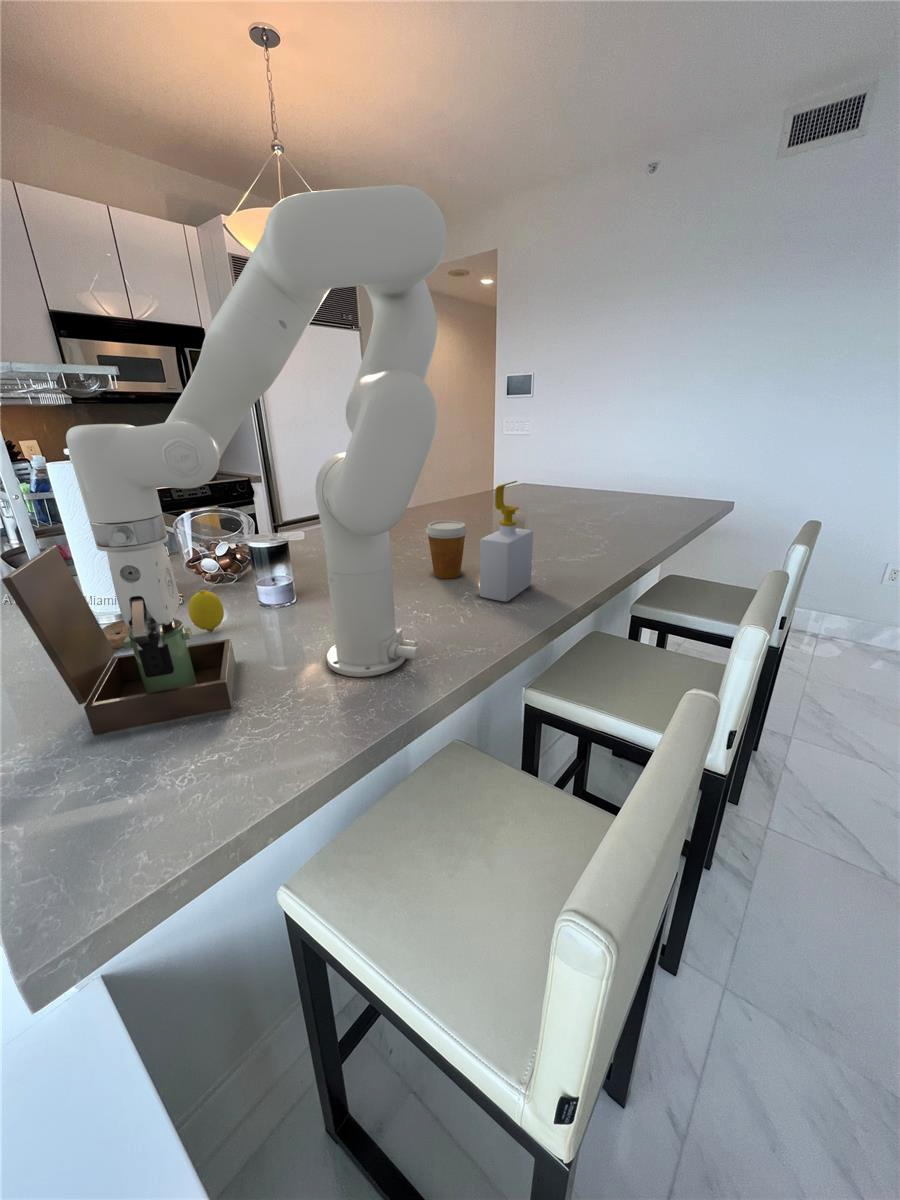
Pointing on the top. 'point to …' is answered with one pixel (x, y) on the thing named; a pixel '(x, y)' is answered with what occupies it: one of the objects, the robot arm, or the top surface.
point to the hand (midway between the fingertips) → (164, 661)
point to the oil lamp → (117, 633)
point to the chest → (162, 691)
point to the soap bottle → (505, 556)
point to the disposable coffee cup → (446, 547)
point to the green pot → (179, 655)
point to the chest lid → (61, 620)
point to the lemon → (206, 610)
